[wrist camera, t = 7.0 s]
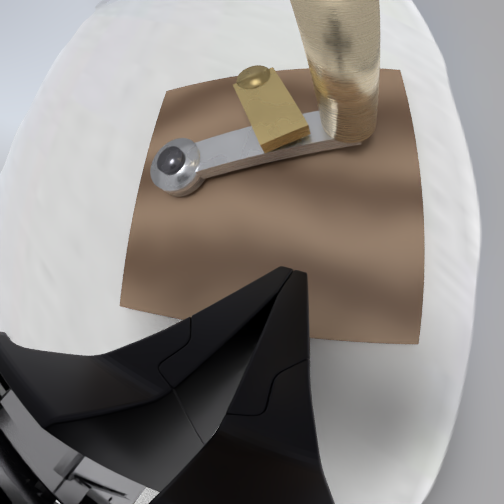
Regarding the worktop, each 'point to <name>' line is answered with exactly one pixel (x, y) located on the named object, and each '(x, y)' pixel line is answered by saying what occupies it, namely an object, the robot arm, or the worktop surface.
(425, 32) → the worktop surface
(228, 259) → the walnut board
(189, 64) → the worktop surface
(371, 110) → the beige lever tool
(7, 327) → the worktop surface
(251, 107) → the plate
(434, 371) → the worktop surface
